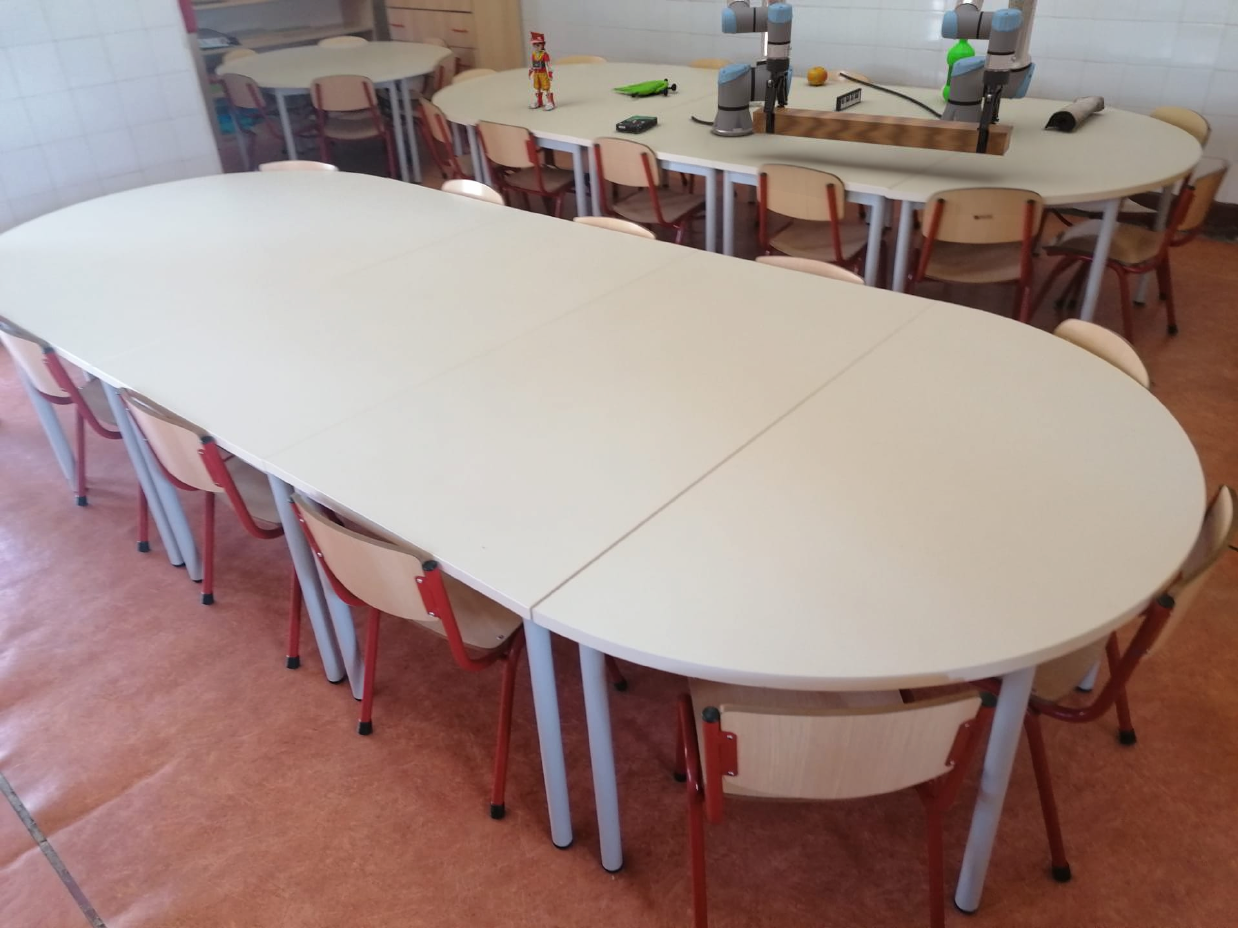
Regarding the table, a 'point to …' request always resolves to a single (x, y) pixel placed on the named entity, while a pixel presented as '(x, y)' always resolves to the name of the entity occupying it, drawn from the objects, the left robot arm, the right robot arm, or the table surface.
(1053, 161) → the table surface
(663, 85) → the toy
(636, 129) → the disk drive
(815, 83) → the fruit
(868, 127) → the slab
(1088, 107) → the rolled mat
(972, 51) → the plastic bottle
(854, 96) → the midi keyboard
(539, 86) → the toy
